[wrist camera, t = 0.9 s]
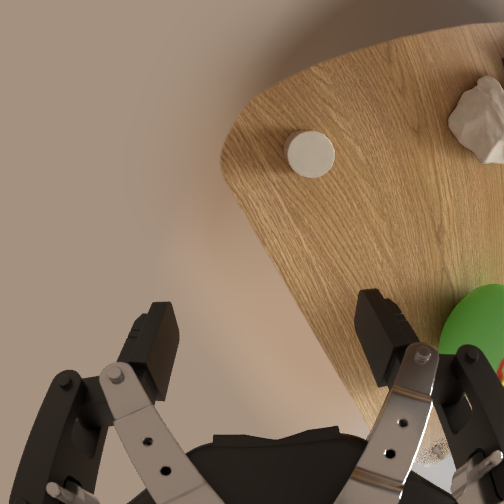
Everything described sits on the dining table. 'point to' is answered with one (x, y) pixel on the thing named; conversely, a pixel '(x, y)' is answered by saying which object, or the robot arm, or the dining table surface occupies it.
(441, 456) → the butter knife
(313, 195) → the dining table surface
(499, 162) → the decorative stone
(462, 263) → the dining table surface
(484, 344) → the toy bird
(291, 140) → the white cylinder
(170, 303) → the robot arm
